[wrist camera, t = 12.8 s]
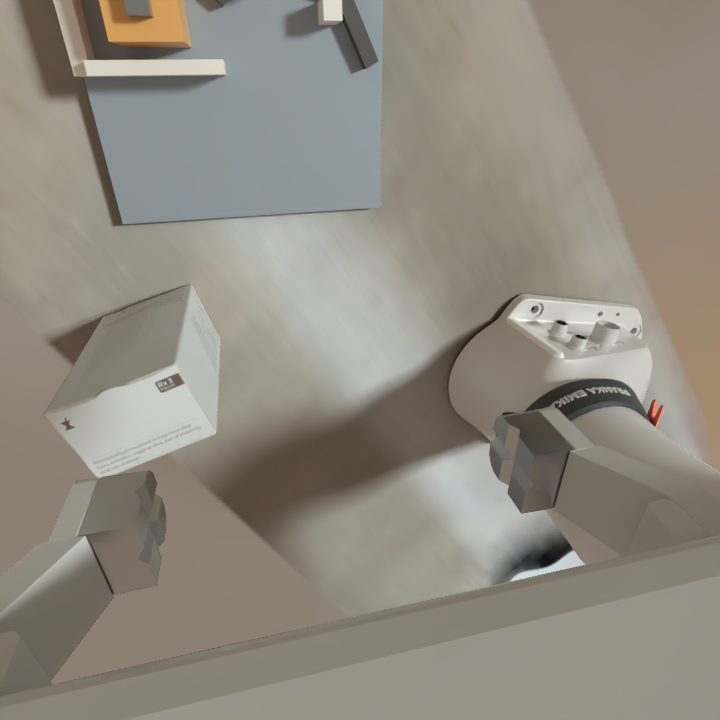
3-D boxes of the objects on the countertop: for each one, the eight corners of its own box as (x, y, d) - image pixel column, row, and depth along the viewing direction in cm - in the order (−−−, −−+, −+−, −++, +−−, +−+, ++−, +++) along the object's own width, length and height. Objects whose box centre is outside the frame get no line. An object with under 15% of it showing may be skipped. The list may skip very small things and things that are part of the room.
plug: (179, -31, 29) (166, -56, 24) (191, 47, 31) (182, 40, 26) (109, -33, 28) (80, -59, 23) (127, 47, 30) (104, 39, 25)
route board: (379, -81, 30) (397, -102, 27) (378, 204, 40) (391, 216, 36) (41, -97, 27) (13, -123, 24) (125, 221, 36) (113, 234, 33)
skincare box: (138, 369, 42) (95, 488, 30) (99, 312, 39) (32, 419, 26) (226, 336, 42) (220, 441, 30) (194, 277, 39) (173, 366, 27)
